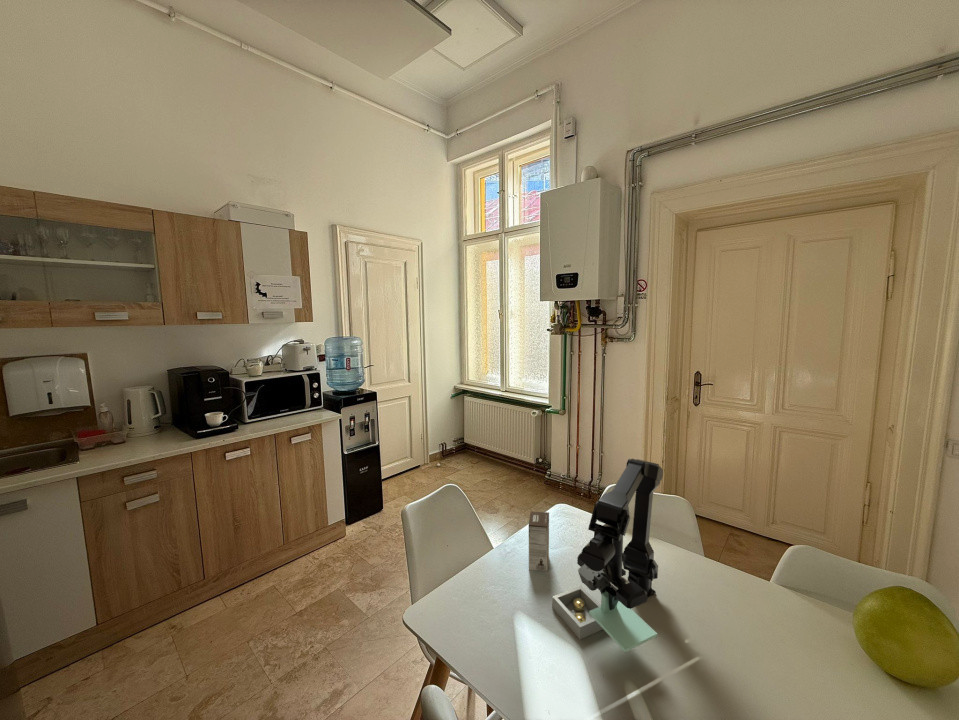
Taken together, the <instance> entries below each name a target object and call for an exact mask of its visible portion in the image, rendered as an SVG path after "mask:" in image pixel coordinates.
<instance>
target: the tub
mask: <svg viewBox="0 0 959 720" xmlns="http://www.w3.org/2000/svg"><path fill="white" fill-rule="evenodd" d="M551 597H552V601H551V603H552V604H551V607H552V609H553V610H554V612H555V613H556V614H557V615H558V616H559V617H560V619H561V620H562V621H563V622H564V623H565V624H566V625H567V627H568V628H569V629H570V630H571V631H572V633H574V635H575V636H576V637H577V639H579V640H582V639H584V638H587V637H588V636H591V635H593V634H596V633H598V632H600V631H602V630H604V629H603V628H602V627H601V626H600V625H599V624H598V623H597V622H596V621H595V619H594V618H593V617H592V616H591V615H590V614H589V611H590V610H593V609H595V608H598V607H600V606H601V603H599V602H598V601H597V600H596V598H594V597H593V596H592V594H590V593H589V592H588V591H587V590H586V589H585V588H584V587H583V586H582V585H579V586H577V587H574V588H572V589H569V590H566V591H563V592H561V593H557V594H555V595H553V596H551ZM575 598H580V599H582V600H583V601H584V611H583V612H581V613H582V614H584V615H585V617H586V621H584V622H582V623H580V622H579V621H578V620H577V619H576V617H575V616H574V615H575V614H576V613H579V612H576V611H575V610H574V609H573V601H574V599H575Z"/></svg>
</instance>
